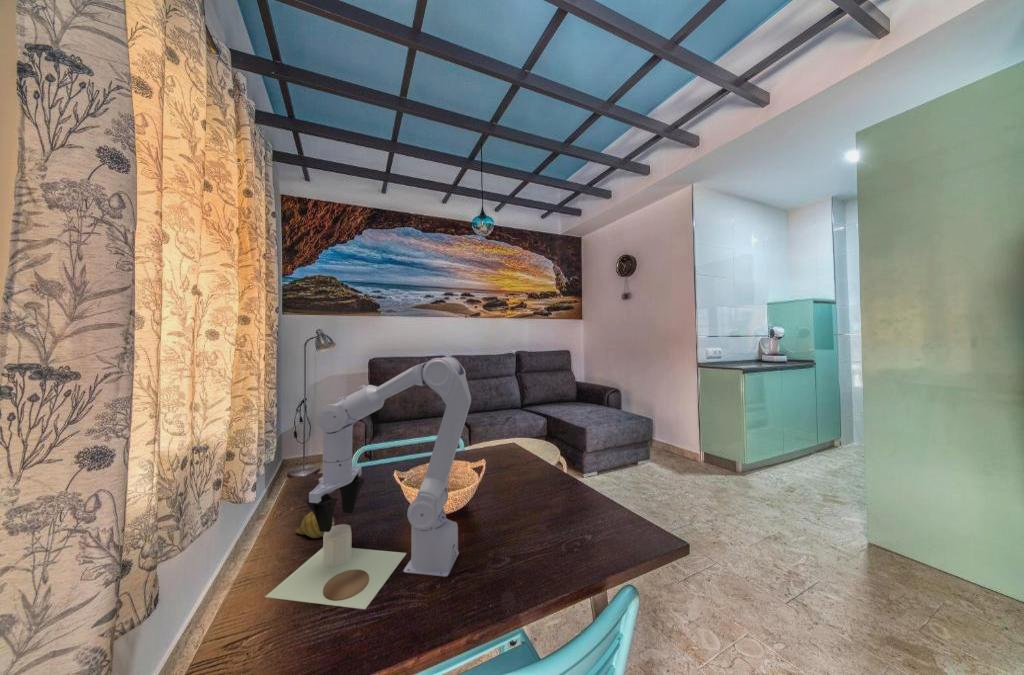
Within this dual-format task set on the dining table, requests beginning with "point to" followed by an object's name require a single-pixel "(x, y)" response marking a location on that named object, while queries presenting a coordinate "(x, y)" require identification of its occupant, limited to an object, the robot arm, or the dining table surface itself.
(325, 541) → the cup
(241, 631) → the dining table surface
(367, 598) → the placemat
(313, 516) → the seashell
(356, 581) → the coaster
